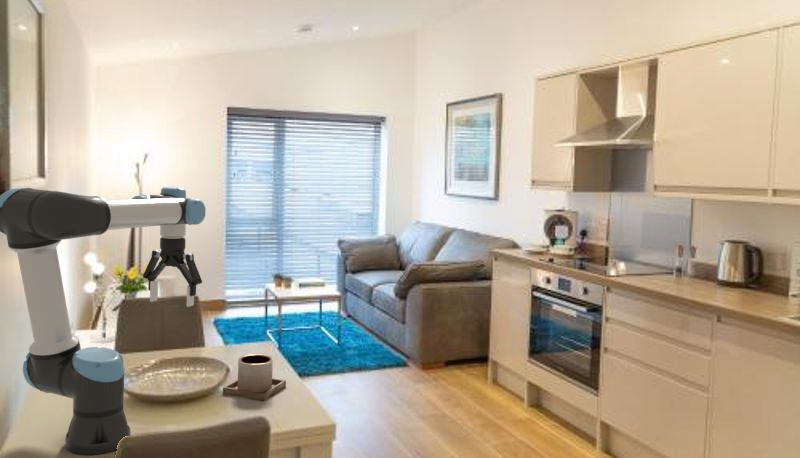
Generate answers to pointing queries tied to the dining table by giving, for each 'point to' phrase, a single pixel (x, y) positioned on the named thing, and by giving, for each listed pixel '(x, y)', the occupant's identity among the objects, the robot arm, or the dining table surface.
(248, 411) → the dining table surface
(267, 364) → the planter
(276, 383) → the tray
